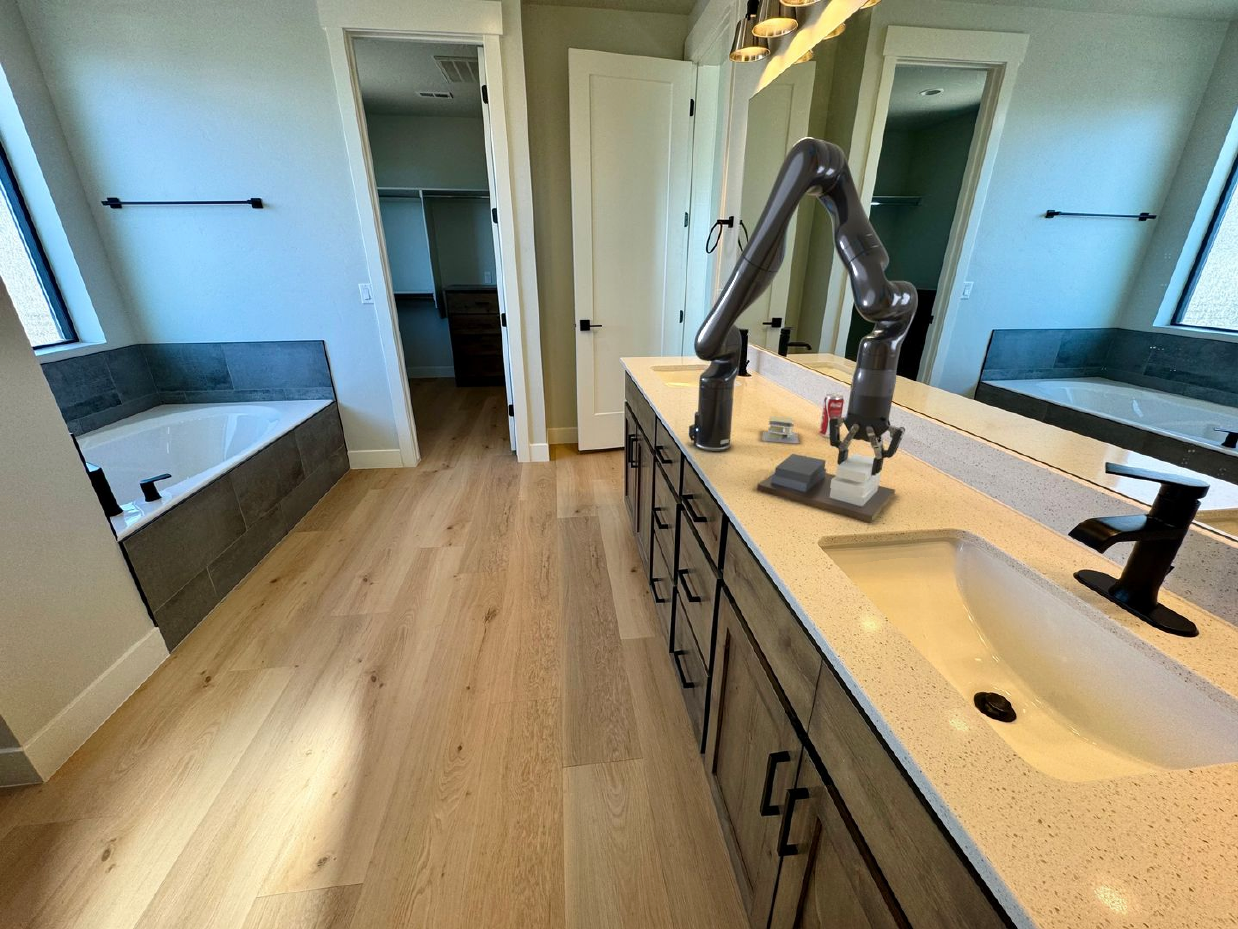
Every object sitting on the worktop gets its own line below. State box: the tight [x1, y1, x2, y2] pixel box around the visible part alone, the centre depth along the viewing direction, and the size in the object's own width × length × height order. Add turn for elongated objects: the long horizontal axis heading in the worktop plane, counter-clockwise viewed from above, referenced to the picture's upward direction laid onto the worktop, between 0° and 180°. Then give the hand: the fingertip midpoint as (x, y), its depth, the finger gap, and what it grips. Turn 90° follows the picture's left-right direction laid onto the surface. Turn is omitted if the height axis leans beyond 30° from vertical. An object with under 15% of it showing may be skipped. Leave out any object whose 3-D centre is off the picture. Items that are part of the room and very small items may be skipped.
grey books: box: [771, 453, 827, 492], centre depth 110 cm, size 8×11×4 cm
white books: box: [830, 472, 882, 506], centre depth 103 cm, size 7×10×4 cm
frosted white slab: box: [835, 453, 875, 483], centre depth 101 cm, size 6×10×2 cm, turn 138°
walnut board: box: [756, 472, 896, 524], centre depth 108 cm, size 24×16×2 cm, turn 48°
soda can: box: [819, 393, 845, 438], centre depth 143 cm, size 5×5×12 cm
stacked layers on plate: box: [761, 416, 800, 444], centre depth 142 cm, size 10×9×6 cm
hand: (858, 470), depth 102 cm, fingers closed on frosted white slab, 5 cm apart
